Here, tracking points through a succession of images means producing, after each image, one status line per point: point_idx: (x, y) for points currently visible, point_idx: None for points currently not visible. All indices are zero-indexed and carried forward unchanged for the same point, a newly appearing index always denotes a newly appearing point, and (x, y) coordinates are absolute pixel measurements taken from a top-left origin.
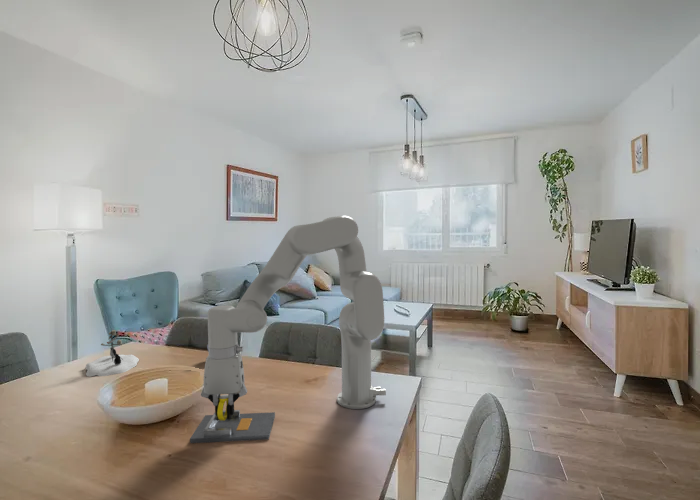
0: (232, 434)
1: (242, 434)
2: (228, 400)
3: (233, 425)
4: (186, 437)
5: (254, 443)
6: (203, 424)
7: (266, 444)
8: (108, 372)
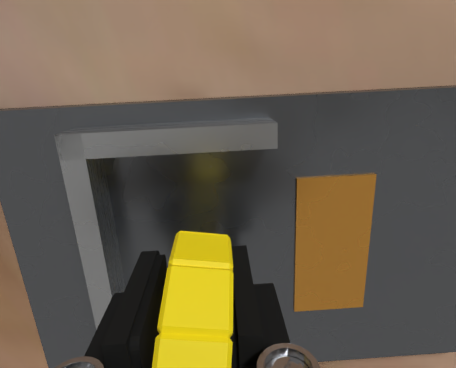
0: None
1: (338, 345)
2: (201, 295)
3: (260, 261)
4: (8, 312)
5: (393, 356)
6: (44, 247)
7: (450, 362)
8: None
